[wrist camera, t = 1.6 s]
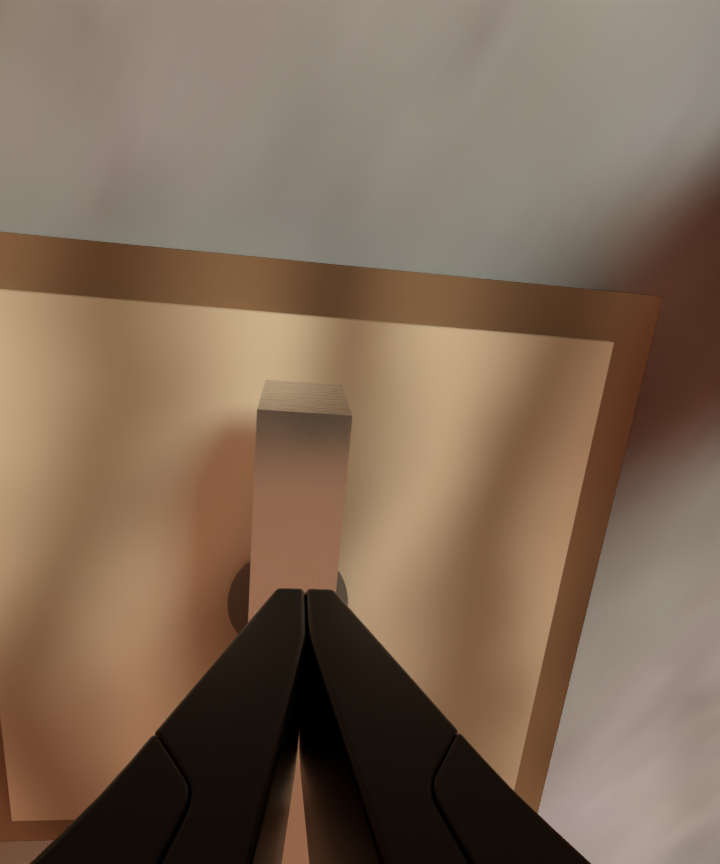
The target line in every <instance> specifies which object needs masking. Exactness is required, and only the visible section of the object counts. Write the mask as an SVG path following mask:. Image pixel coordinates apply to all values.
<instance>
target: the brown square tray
mask: <svg viewBox="0 0 720 864" xmlns="http://www.w3.org/2000/svg"><path fill="white" fill-rule="evenodd" d="M661 302H662V297H660V296H651V295H641V294H632V293H622V292H612V291H602V290H591V289H581V288H571V287H561V286H550V285H540V284H530V283H520V282H509V281H499V280H489V279H479V278H468V277H458V276H448V275H437V274H427V273H417V272H407V271H396V270H386V269H376V268H366V267H355V266H345V265H335V264H325V263H314V262H304V261H294V260H283V259H273V258H263V257H253V256H242V255H232V254H222V253H212V252H201V251H191V250H181V249H171V248H160V247H150V246H140V245H129V244H119V243H109V242H99V241H88V240H78V239H68V238H58V237H47V236H37V235H27V234H17V233H6V232H0V842H1V841H35V840H55V839H56V838H57V837H58V836H59V835H60V834H61V833H62V832H63V831H64V830H65V829H66V828H67V827H68V826H69V825H70V824H71V823H72V822H73V821H74V820H75V819H76V818H77V817H78V816H79V815H80V814H81V813H82V812H83V811H84V810H85V809H86V808H87V807H88V806H89V805H90V804H91V803H92V802H93V801H94V800H95V799H96V798H97V797H98V796H99V795H100V794H101V793H102V792H103V791H104V790H105V788H106V787H107V786H108V785H109V784H110V783H111V782H112V781H113V780H114V778H115V777H116V776H117V775H118V774H119V773H120V772H121V771H122V770H123V768H124V767H125V766H126V765H127V764H128V763H129V762H130V761H131V760H132V758H133V757H134V756H135V755H136V754H137V753H138V751H139V750H140V749H141V748H142V747H143V745H144V744H145V743H146V742H147V741H148V739H149V738H150V737H151V736H155V732H156V731H157V729H158V728H159V727H160V726H161V725H162V723H163V722H164V721H165V720H166V719H167V718H168V716H169V715H170V714H171V713H172V712H173V711H174V709H175V708H176V707H177V706H178V705H179V703H180V702H181V701H182V700H183V699H184V698H185V696H186V695H187V694H188V693H189V692H190V690H191V689H192V688H193V687H194V686H195V685H196V683H197V682H198V681H199V680H200V679H201V678H202V676H203V675H204V674H205V673H206V672H207V670H208V669H209V668H210V667H211V666H212V665H213V663H214V662H215V661H216V660H217V659H218V657H219V656H220V655H221V654H222V653H223V652H224V650H225V649H226V648H227V647H228V646H229V645H230V643H231V642H232V641H233V640H234V639H235V637H236V636H237V635H238V634H239V633H240V632H241V630H242V629H243V628H244V627H245V626H246V624H247V623H248V611H249V587H250V563H251V540H252V516H253V492H254V469H255V445H256V421H257V408H258V404H259V401H260V397H261V394H262V390H263V387H264V384H265V380H276V381H290V382H304V383H318V384H332V385H342V386H343V389H344V392H345V395H346V398H347V401H348V404H349V407H350V410H351V413H352V425H351V436H350V447H349V458H348V468H347V479H346V490H345V501H344V511H343V522H342V533H341V544H340V554H339V565H338V576H337V587H336V593H337V594H338V596H339V597H340V598H341V599H342V600H343V601H344V602H345V603H346V605H347V606H348V607H349V608H350V609H351V610H352V611H353V613H354V614H355V615H356V616H357V617H358V618H359V619H360V620H361V622H362V623H363V624H364V625H365V626H366V627H367V628H368V629H369V631H370V632H371V633H372V634H373V635H374V636H375V637H376V638H377V640H378V641H379V642H380V643H381V644H382V645H383V646H384V647H385V649H386V650H387V651H388V652H389V653H390V654H391V655H392V657H393V658H394V659H395V660H396V661H397V662H398V663H399V664H400V666H401V667H402V668H403V669H404V670H405V671H406V672H407V673H408V675H409V676H410V677H411V678H412V679H413V680H414V681H415V682H416V684H417V685H418V686H419V687H420V688H421V689H422V690H423V692H424V693H425V694H426V695H427V696H428V697H429V698H430V699H431V701H432V702H433V703H434V704H435V705H436V706H437V707H438V708H439V710H440V711H441V712H442V713H443V714H444V715H445V716H446V717H447V719H448V720H449V721H450V722H451V723H452V724H453V725H454V727H455V728H456V729H457V731H458V734H462V735H463V736H464V737H465V739H466V740H467V741H468V742H469V743H470V744H471V745H472V746H473V748H474V749H475V750H476V751H477V752H478V753H479V754H480V755H481V756H482V758H483V759H484V760H485V761H486V762H487V763H488V764H489V765H490V766H491V767H492V768H493V769H494V770H495V771H496V773H497V774H498V775H499V776H500V777H501V778H502V779H503V780H504V781H505V782H506V783H507V784H508V785H509V786H510V787H511V788H512V789H513V790H514V791H515V792H516V793H517V794H518V795H519V796H520V797H521V798H522V799H523V800H524V801H525V802H526V803H527V804H528V805H529V806H530V807H531V808H532V809H533V810H534V811H535V812H536V813H538V809H539V805H540V801H541V797H542V792H543V788H544V784H545V780H546V776H547V772H548V768H549V764H550V759H551V755H552V751H553V747H554V743H555V739H556V735H557V731H558V726H559V722H560V718H561V714H562V710H563V706H564V702H565V698H566V693H567V689H568V685H569V681H570V677H571V673H572V669H573V665H574V660H575V656H576V652H577V648H578V644H579V640H580V636H581V632H582V627H583V623H584V619H585V615H586V611H587V607H588V603H589V599H590V594H591V590H592V586H593V582H594V578H595V574H596V570H597V566H598V561H599V557H600V553H601V549H602V545H603V541H604V537H605V533H606V528H607V524H608V520H609V516H610V512H611V508H612V504H613V500H614V495H615V491H616V487H617V483H618V479H619V475H620V471H621V467H622V462H623V458H624V454H625V450H626V446H627V442H628V438H629V434H630V429H631V425H632V421H633V417H634V413H635V409H636V405H637V401H638V396H639V392H640V388H641V384H642V380H643V376H644V372H645V368H646V363H647V359H648V355H649V351H650V347H651V343H652V339H653V335H654V330H655V326H656V322H657V318H658V314H659V310H660V306H661Z"/></svg>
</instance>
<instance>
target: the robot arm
mask: <svg viewBox="0 0 720 864" xmlns="http://www.w3.org/2000/svg"><path fill="white" fill-rule="evenodd" d="M298 740H299V759H300V772H301V783H302V793H303V803H304V814H305V824H306V834H307V845H308V855H309V864H591V863H590V862H589V861H588V860H586V859H585V858H584V857H583V856H582V855H581V854H580V853H579V852H578V851H577V850H576V849H575V848H574V847H572V846H571V845H570V844H569V843H568V842H567V841H566V840H565V839H564V838H563V837H562V836H561V835H559V834H558V833H557V832H556V831H555V830H554V829H553V828H552V827H551V826H550V825H549V824H548V823H547V822H546V821H545V820H544V819H543V818H542V817H540V816H539V815H538V814H537V813H536V812H535V811H534V810H533V809H532V808H531V807H530V806H529V805H528V804H527V803H526V802H525V801H524V800H523V799H522V798H521V797H520V796H519V795H518V794H517V793H516V792H515V791H514V790H513V789H512V788H511V787H510V786H509V785H508V784H507V783H506V782H505V781H504V780H503V779H502V778H501V777H500V776H499V775H498V774H497V773H496V771H495V770H494V769H493V768H492V767H491V766H490V765H489V764H488V763H487V762H486V761H485V760H484V759H483V758H482V756H481V755H480V754H479V753H478V752H477V751H476V750H475V749H474V748H473V746H472V745H471V744H470V743H469V742H468V741H467V740H466V739H465V737H464V736H463V735H462V734H458V731H457V729H456V728H455V727H454V725H453V724H452V723H451V722H450V721H449V720H448V719H447V717H446V716H445V715H444V714H443V713H442V712H441V711H440V710H439V708H438V707H437V706H436V705H435V704H434V703H433V702H432V701H431V699H430V698H429V697H428V696H427V695H426V694H425V693H424V692H423V690H422V689H421V688H420V687H419V686H418V685H417V684H416V682H415V681H414V680H413V679H412V678H411V677H410V676H409V675H408V673H407V672H406V671H405V670H404V669H403V668H402V667H401V666H400V664H399V663H398V662H397V661H396V660H395V659H394V658H393V657H392V655H391V654H390V653H389V652H388V651H387V650H386V649H385V647H384V646H383V645H382V644H381V643H380V642H379V641H378V640H377V638H376V637H375V636H374V635H373V634H372V633H371V632H370V631H369V629H368V628H367V627H366V626H365V625H364V624H363V623H362V622H361V620H360V619H359V618H358V617H357V616H356V615H355V614H354V613H353V611H352V610H351V609H350V608H349V607H348V606H347V605H346V603H345V602H344V601H343V600H342V599H341V598H340V597H339V596H338V594H337V593H336V592H335V591H333V590H330V589H309V590H307V591H306V593H305V592H304V590H302V589H292V588H279V589H277V590H275V591H274V593H273V594H272V595H271V596H270V597H269V599H268V600H267V601H266V602H265V603H264V604H263V606H262V607H261V608H260V609H259V610H258V612H257V613H256V614H255V615H254V616H253V617H252V619H251V620H250V621H249V622H248V623H247V624H246V626H245V627H244V628H243V629H242V630H241V632H240V633H239V634H238V635H237V636H236V637H235V639H234V640H233V641H232V642H231V643H230V645H229V646H228V647H227V648H226V649H225V650H224V652H223V653H222V654H221V655H220V656H219V657H218V659H217V660H216V661H215V662H214V663H213V665H212V666H211V667H210V668H209V669H208V670H207V672H206V673H205V674H204V675H203V676H202V678H201V679H200V680H199V681H198V682H197V683H196V685H195V686H194V687H193V688H192V689H191V690H190V692H189V693H188V694H187V695H186V696H185V698H184V699H183V700H182V701H181V702H180V703H179V705H178V706H177V707H176V708H175V709H174V711H173V712H172V713H171V714H170V715H169V716H168V718H167V719H166V720H165V721H164V722H163V723H162V725H161V726H160V727H159V728H158V729H157V731H156V732H155V736H151V737H150V738H149V739H148V741H147V742H146V743H145V744H144V745H143V747H142V748H141V749H140V750H139V751H138V753H137V754H136V755H135V756H134V757H133V758H132V760H131V761H130V762H129V763H128V764H127V765H126V766H125V767H124V768H123V770H122V771H121V772H120V773H119V774H118V775H117V776H116V777H115V778H114V780H113V781H112V782H111V783H110V784H109V785H108V786H107V787H106V788H105V790H104V791H103V792H102V793H101V794H100V795H99V796H98V797H97V798H96V799H95V800H94V801H93V802H92V803H91V804H90V805H89V806H88V807H87V808H86V809H85V810H84V811H83V812H82V813H81V814H80V815H79V816H78V817H77V818H76V819H75V820H74V821H73V822H72V823H71V824H70V825H69V826H68V827H67V828H66V829H65V830H64V831H63V832H62V833H61V834H60V835H59V836H58V837H57V838H56V839H55V840H54V841H53V842H52V843H51V844H50V845H49V846H48V847H47V848H46V849H45V850H44V851H43V852H42V853H41V854H39V855H38V856H37V857H36V858H35V859H34V860H33V861H32V862H31V863H30V864H282V858H283V851H284V844H285V837H286V831H287V824H288V817H289V810H290V804H291V797H292V790H293V783H294V777H295V770H296V761H297V753H298Z"/></svg>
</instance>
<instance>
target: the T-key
mask: <svg viewBox="0 0 720 864" xmlns="http://www.w3.org/2000/svg"><path fill="white" fill-rule="evenodd" d="M351 425H352V413H351V410H350V407H349V404H348V401H347V398H346V395H345V392H344V389H343V386H342V385H332V384H318V383H304V382H290V381H276V380H265V384H264V387H263V390H262V394H261V397H260V401H259V404H258V408H257V421H256V445H255V469H254V492H253V516H252V540H251V563H250V587H249V611H248V622H249V621H250V620H251V619H252V617H253V616H254V615H255V614H256V613H257V612H258V610H259V609H260V608H261V607H262V606H263V604H264V603H265V602H266V601H267V600H268V599H269V597H270V596H271V595H272V594H273V593H274V591H275V590H277V589H279V588H292V589H302V590H304V592H305V593H306V591H307V590H309V589H330V590H333V591H335V592H336V587H337V576H338V565H339V554H340V544H341V533H342V522H343V511H344V501H345V490H346V479H347V468H348V458H349V447H350V436H351ZM282 864H309V855H308V845H307V834H306V824H305V814H304V803H303V793H302V783H301V772H300V759H299V740H298V753H297V761H296V770H295V777H294V783H293V790H292V797H291V804H290V810H289V817H288V824H287V831H286V837H285V844H284V851H283V858H282Z"/></svg>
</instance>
